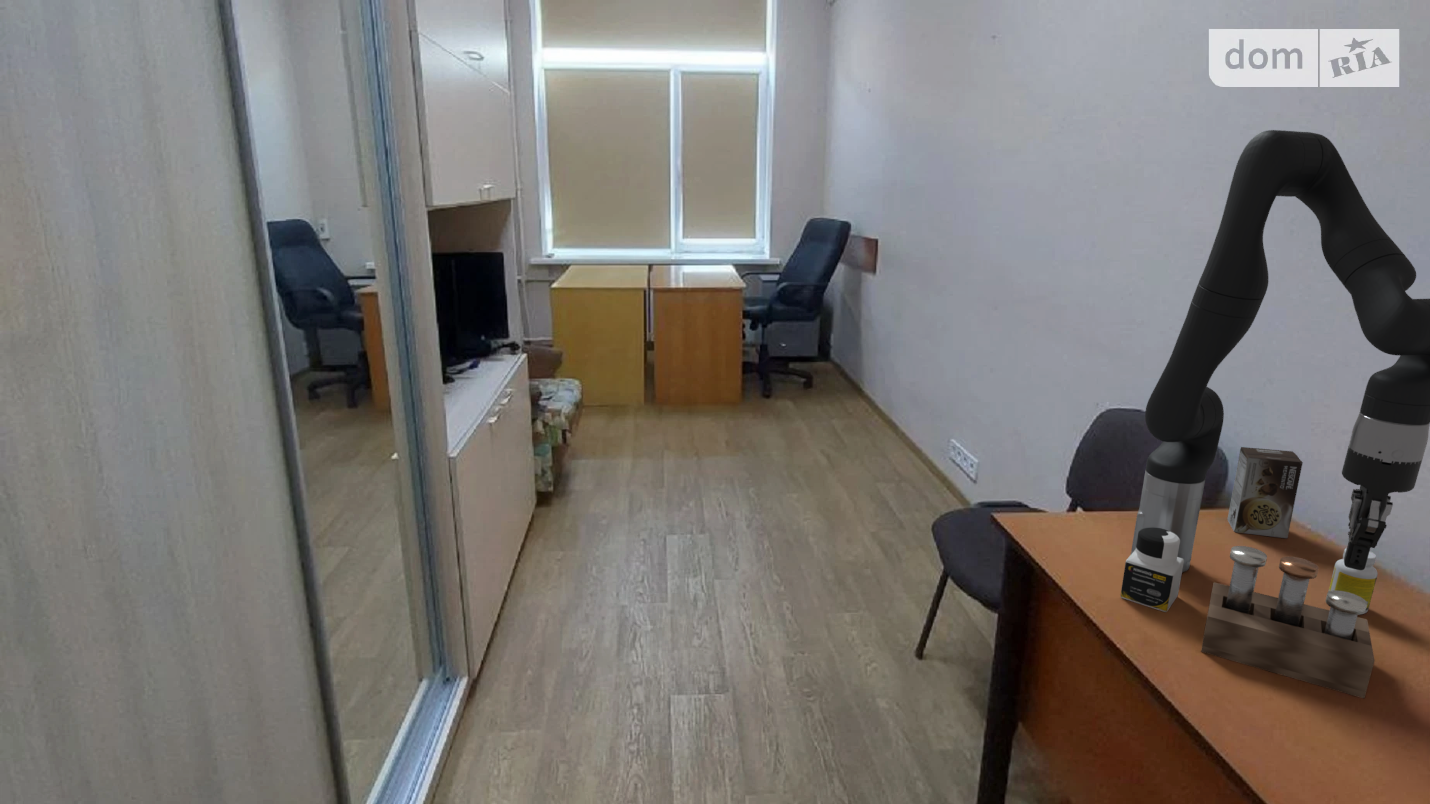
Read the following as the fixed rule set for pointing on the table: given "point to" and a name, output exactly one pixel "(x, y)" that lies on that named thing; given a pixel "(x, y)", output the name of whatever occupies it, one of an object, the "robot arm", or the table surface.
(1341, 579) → the supplement bottle
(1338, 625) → the knob right
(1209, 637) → the mount
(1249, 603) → the knob left
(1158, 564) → the medicine bottle
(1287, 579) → the copper and grey cylinder
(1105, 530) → the table surface
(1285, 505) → the coffee box
